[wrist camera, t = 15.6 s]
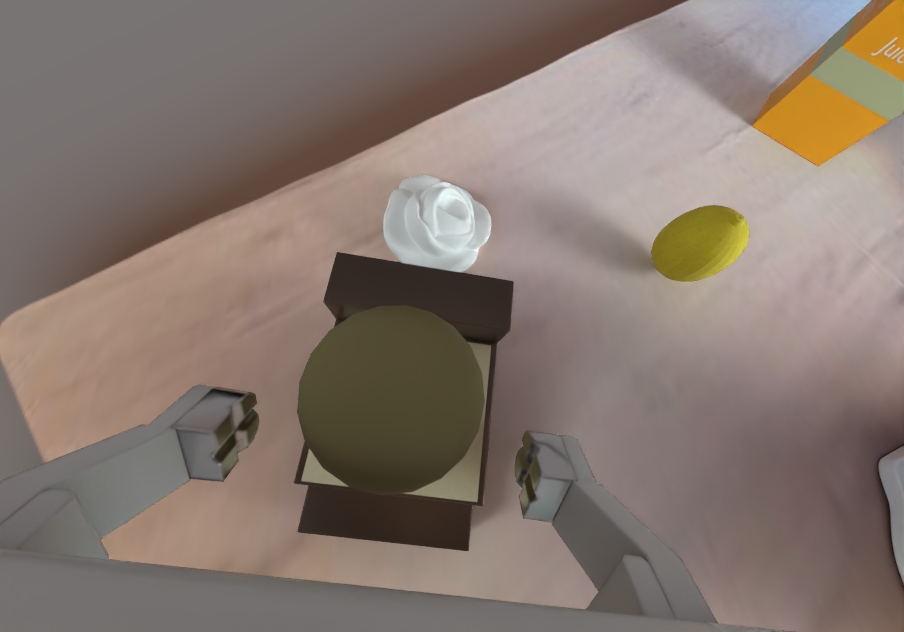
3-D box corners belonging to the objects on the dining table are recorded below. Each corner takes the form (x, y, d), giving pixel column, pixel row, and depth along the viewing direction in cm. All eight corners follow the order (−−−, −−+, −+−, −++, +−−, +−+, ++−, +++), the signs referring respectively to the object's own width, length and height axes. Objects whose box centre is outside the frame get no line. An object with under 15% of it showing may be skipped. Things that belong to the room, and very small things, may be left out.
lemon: (642, 296, 29) (720, 252, 22) (626, 243, 31) (694, 185, 23) (695, 293, 30) (790, 250, 23) (677, 241, 32) (759, 184, 24)
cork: (343, 366, 18) (251, 294, 8) (445, 346, 20) (479, 257, 9) (357, 480, 17) (264, 572, 6) (469, 450, 18) (544, 488, 7)
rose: (354, 170, 25) (462, 134, 27) (363, 207, 29) (456, 172, 31) (413, 276, 23) (525, 226, 25) (413, 299, 27) (510, 255, 29)
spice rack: (461, 534, 22) (491, 605, 13) (312, 517, 21) (244, 580, 13) (482, 325, 27) (513, 280, 18) (362, 307, 26) (336, 251, 18)
